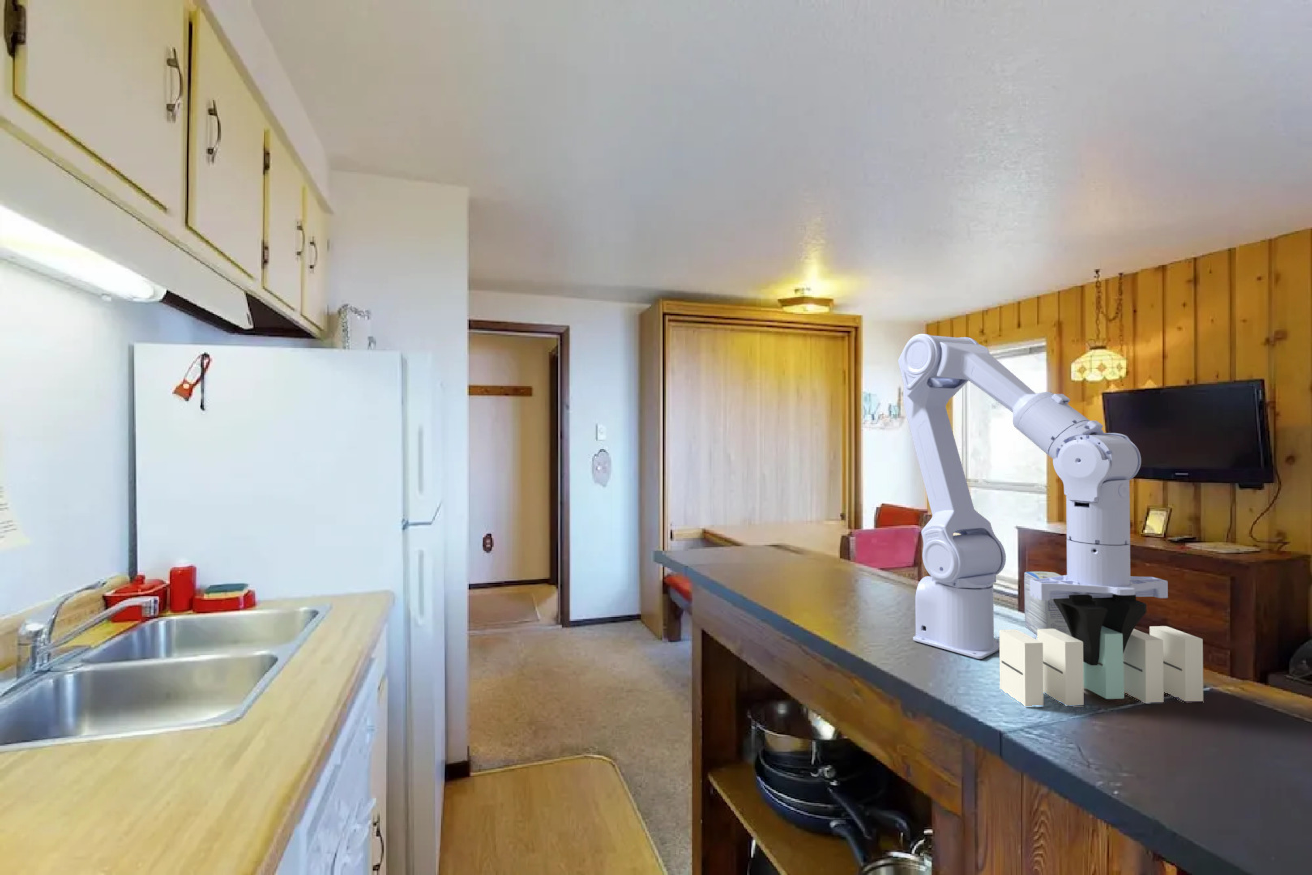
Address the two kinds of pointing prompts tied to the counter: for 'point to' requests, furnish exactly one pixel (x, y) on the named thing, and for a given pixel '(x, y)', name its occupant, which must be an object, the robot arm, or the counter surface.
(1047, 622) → the medicine box
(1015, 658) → the domino
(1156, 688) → the domino
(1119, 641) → the domino
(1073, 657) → the domino
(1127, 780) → the counter surface
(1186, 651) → the domino
